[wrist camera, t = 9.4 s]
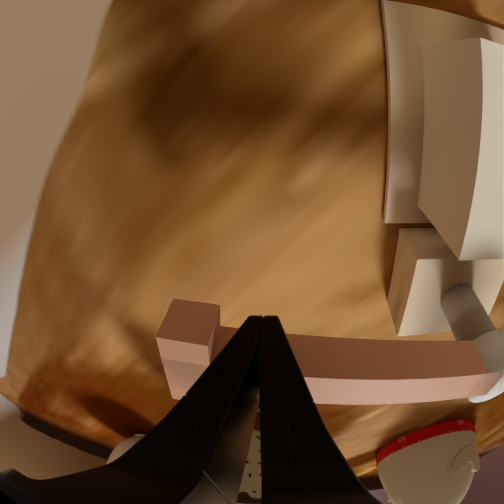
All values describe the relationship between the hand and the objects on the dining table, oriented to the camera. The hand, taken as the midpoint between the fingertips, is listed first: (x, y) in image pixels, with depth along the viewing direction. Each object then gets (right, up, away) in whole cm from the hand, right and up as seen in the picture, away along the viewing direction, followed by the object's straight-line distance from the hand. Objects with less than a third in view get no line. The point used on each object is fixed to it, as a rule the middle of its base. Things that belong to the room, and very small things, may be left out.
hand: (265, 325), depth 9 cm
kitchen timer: (+22, -23, +21) cm, 38 cm away
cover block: (+10, +8, +2) cm, 13 cm away
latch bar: (+4, -2, +2) cm, 5 cm away
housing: (+10, +6, +4) cm, 12 cm away
